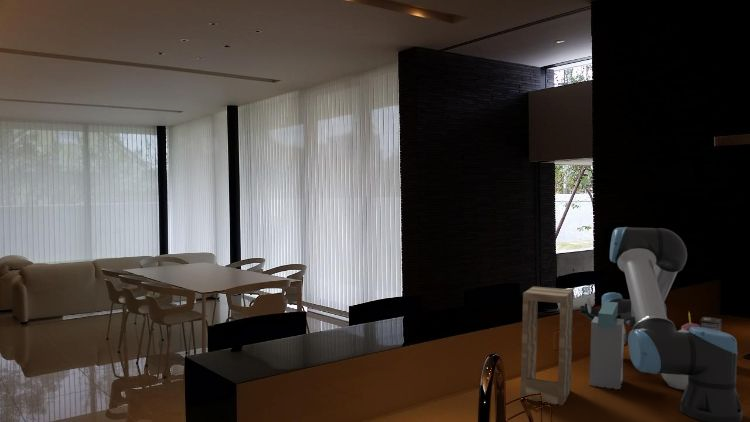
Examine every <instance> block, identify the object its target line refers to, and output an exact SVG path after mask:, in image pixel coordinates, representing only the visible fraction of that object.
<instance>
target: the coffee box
mask: <svg viewBox="0 0 750 422" xmlns="http://www.w3.org/2000/svg"><path fill="white" fill-rule="evenodd" d="M722 320H723V319H722V318H717V317H711V316H702V317H701V319H700V320H699V325H700V327H704V328H709V329H714V330H718V331H721V332H722V330H723V328H722V325H723V324H722V323H723V321H722Z"/></svg>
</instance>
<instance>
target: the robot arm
mask: <svg viewBox="0 0 750 422" xmlns="http://www.w3.org/2000/svg"><path fill="white" fill-rule="evenodd" d="M609 246H610V247H609V260H610V262H612V263H614V264H617V267H618V269H619V270H620V271H621V272H623V273H624V275H625V281H626V285H627V289H628V293H629V294H628V295H629V299H624V298H623V296H622V294H621V293H619V292H614V291H612V292H607V293H604V294H603V295H602V296H601V308H602V306H603V305H604V303H605V301H606V302H617V303H618V315H617V317H616V319H624V345H625V344H626V341H627V347H628V354H629V358H630V360H631V363H632V365H633V366H634V368H635V369H637V370H638V371H639V372H641V373H646V374H647V373H648V374H652V375H657V374H661V375H662V374H676V375H688V384H687V386H686V388H685V390H683V391H684V392H683V394H682V396H681V399H680V400H679V401H680V402H679V410H680V412H682V414H684V415H685V416H687V417H690V418H692V419H695V420H699V421H701V422H702V421H703V422H742V421H743V417H744V415H743V414H744V413H743V408H742V405H741V402H740V398H739V395H738V392H737V365H738V354H739V352H738V342H737V339H736V338H735V336H733V335H732V334H730V333H728V332H724V331H722V330H721V331H718V330H714V329H709V328H704V327H690V329H689V332H678V330H677V328H676V325H675V323H674V322H673V321H672V320H670V319H669V318H668V317H667V306H666V303H665V301H666V298H667V296H668V294H669V292H670V290H671V288H672V286H673V283H674V281H675V279H676V276H677V274H678V273H679V272H681V271H682V270H683V269H684V267H685V265H686V263H687V259H688V251H687V247H686V244H685V243H684V241H683V239H682V238H681V237H680V236H679V235H678V234H676V233H675V232H674V231H672V230H670V229H667V228H662V227H657V228H656V227H630V226H629V227H628V226H624V227H622V226H621V227H616V228H614V229H613V231H612V234H611V239H610V245H609ZM586 300H587V301H586V303H584V305H580V308H579V314H581V315H583V316H584V317H585V318H587V319H588V320H590V321H591V322H592V320H593V319H594V317H598V313H599V311H600V310H598V309H596V308H594V307H593V306H592V302H591V298H590V297H589V298H587V299H586ZM626 324H628V325H629V326H630V327H632V330H630V331H629V333H628V337H627V333H626Z"/></svg>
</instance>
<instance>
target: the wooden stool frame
mask: <svg viewBox="0 0 750 422" xmlns="http://www.w3.org/2000/svg"><path fill="white" fill-rule="evenodd" d="M539 302H541V303H542V302H543V303H555V304H559V307H560V308H559V336H558V337H559V339H558V341H559V343H558V344H559V345H558V371H557V372H558V373H557V374H558V375H557V376H558V377H557V381H553V380H552V381H551V380H545V379H538V378H536V377H537V353H538V352H537V347H538V343H537V342H538V307H539V306H538V305H539V304H538V303H539ZM573 307H574V289H569V288H568V289H567V288H557V287H545V286H543V287H542V286H534V285H533V286H531V287H530V288H528V289H527V290H526V291H523V293H522V320H521V323H522V324H521V325H522V326H521V327H522V329H521V366H520V398H521V397H524V396H527V395H531V394H538V393H541V396H542V401H543V402H542V403H544V402H548V403H547V404H550V403H551V404H550V405H556V404H559V405H558V406H564V405H565V403H564V402H566V401H567V399H568V398H569V397H568V396H569V395H570V393H571V390H572V389H571V387H572V386H571V385H572V384H571V383H572V348H573V347H572V345H573V316H574V315H573V311H574V310H573V309H574V308H573ZM531 398H532V399H531V400H532V402H537V403H539V402H538V401H539V400H540V397H539V396H534V397H531ZM531 400H530V401H531ZM563 404H564V405H563Z"/></svg>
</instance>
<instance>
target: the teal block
mask: <svg viewBox="0 0 750 422" xmlns="http://www.w3.org/2000/svg"><path fill="white" fill-rule="evenodd" d="M601 306H602V305H601ZM617 315H618V303H617V302H606V301H605V303H604V305H603V306H602V307H601V308H600V310H599V313H598V326H600V327H610V328H612V326H613V324H614V322H615V319H616V317H617Z"/></svg>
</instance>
